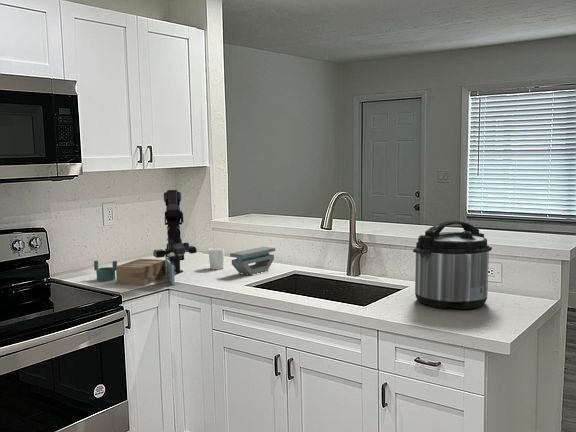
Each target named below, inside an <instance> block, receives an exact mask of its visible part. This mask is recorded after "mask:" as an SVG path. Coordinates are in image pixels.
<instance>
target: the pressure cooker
mask: <svg viewBox="0 0 576 432" xmlns="http://www.w3.org/2000/svg"><path fill="white" fill-rule="evenodd" d="M452 225H460V226H461V227H462V229H463V231H445V232H444V231H443V229H444V228H445V227H447V226H452ZM442 231H443V232H442ZM492 250H493V247H491V246H489V245H488V239H487V238H486V237H485V233H482V232H480V229H478V228H477V227H476V226H474V225H473V224H471V223H468V222H465V221H461V220H449V221H448V220H447V221H443V222H440V223H437V224H435V225H433V226H431V227H429V228H427V229H426V230H425V231H424V234H421V235H419V236H418V237H417V242H416V246H415V248H413V250H412V252H413V253H415V272H414V273H415V277H414V279H415V282H414V283H415V284H414V292H415V293H414V295H415V298H416V299H417V301H418V302H420V303H422V304H425V305H429V306H432V307H436V308H442V309H446V308H448V307H449V308H453V309H461V310H467V309H476V308H480V307H482V306H484V305H485V304H486V302H487V300H488V291H489V290H488V289H489V285H488V284H489V263H490V262H489V261H490V260H489V259H490V255H489V254H490V252H491V251H492Z"/></svg>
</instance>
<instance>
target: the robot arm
mask: <svg viewBox="0 0 576 432" xmlns="http://www.w3.org/2000/svg"><path fill="white" fill-rule="evenodd" d="M163 202H164V204H165V211H164V225H165V226H166V231H167V233H166V234H167V238H166V239H167V244H166V248H165V249H162V248H160V249H154V250H153V252H152V254H153V257H154V258H157V259H159V258H164V257H165V259H164V260H166V259H168V260H169V261H170V262H171V263H172V265H173V266H174V272H176V275H177V274H180V273H183V272H184V270H183V269H181V261H185V254H186V253H189V254H190V255H191V254H197V247H196V246H193V245H190V243H189V242H188V241H187V242H183V241H182V238H181V225H183V223H184V213H183V211H182V210H181V207H180V204H181V202H182V192H180V191H178V190H177V189H168V190H166V191H165V192H163Z"/></svg>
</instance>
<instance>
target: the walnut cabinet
mask: <svg viewBox="0 0 576 432" xmlns="http://www.w3.org/2000/svg"><path fill="white" fill-rule="evenodd" d="M115 278H116V285H127V286H128V285H130V286H131V285H133V286H142V287H143V286H144V287H145V286H147V285H150V284H151V283H155V282H156V281H159V280H162V279H165V278H167V276H166V259H153V258H138V259H135V260H132V261H128V262H125V263H122V264H119V265H117V266H116V271H115Z"/></svg>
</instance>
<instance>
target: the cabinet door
mask: <svg viewBox="0 0 576 432" xmlns="http://www.w3.org/2000/svg"><path fill="white" fill-rule="evenodd" d="M165 260H166V278H167V279H168V280H169V282H170V283H171V285H175V276H177V274H176V272H174V266H173V265H172V263H171V262H170V261H169V260H168V259H165Z"/></svg>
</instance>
